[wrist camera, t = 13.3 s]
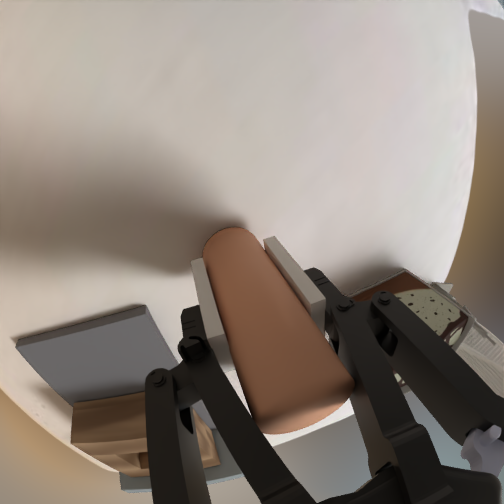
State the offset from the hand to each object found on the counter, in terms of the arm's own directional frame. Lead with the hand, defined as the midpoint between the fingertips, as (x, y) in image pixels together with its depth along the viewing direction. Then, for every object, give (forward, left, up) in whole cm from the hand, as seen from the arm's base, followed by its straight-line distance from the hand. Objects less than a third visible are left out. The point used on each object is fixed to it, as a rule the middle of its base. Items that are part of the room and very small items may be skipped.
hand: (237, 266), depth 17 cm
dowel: (0, 0, -2) cm, 2 cm away
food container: (+11, +13, -2) cm, 17 cm away
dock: (+13, -14, -2) cm, 19 cm away
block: (+17, -14, -1) cm, 22 cm away
